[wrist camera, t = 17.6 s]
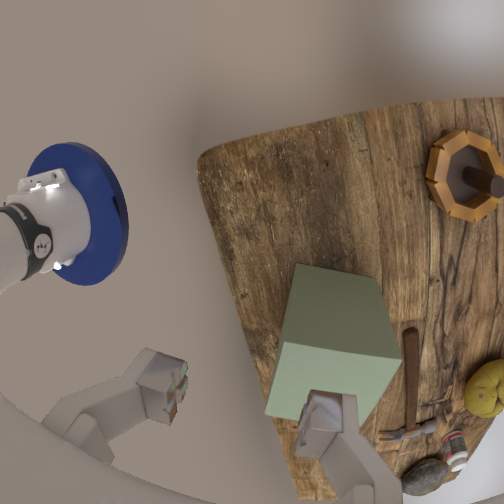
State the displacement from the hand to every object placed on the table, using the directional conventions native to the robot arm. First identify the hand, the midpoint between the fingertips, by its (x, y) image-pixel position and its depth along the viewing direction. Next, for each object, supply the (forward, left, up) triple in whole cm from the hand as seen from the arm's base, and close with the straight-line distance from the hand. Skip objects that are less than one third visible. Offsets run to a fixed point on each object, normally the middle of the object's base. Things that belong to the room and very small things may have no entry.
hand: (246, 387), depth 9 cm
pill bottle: (+49, -45, -29) cm, 73 cm away
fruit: (+42, -23, -29) cm, 56 cm away
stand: (+21, +8, -29) cm, 37 cm away
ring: (+20, +8, -28) cm, 35 cm away
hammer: (+27, -29, -29) cm, 49 cm away
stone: (+50, -61, -29) cm, 84 cm away
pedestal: (+7, -14, -29) cm, 33 cm away
